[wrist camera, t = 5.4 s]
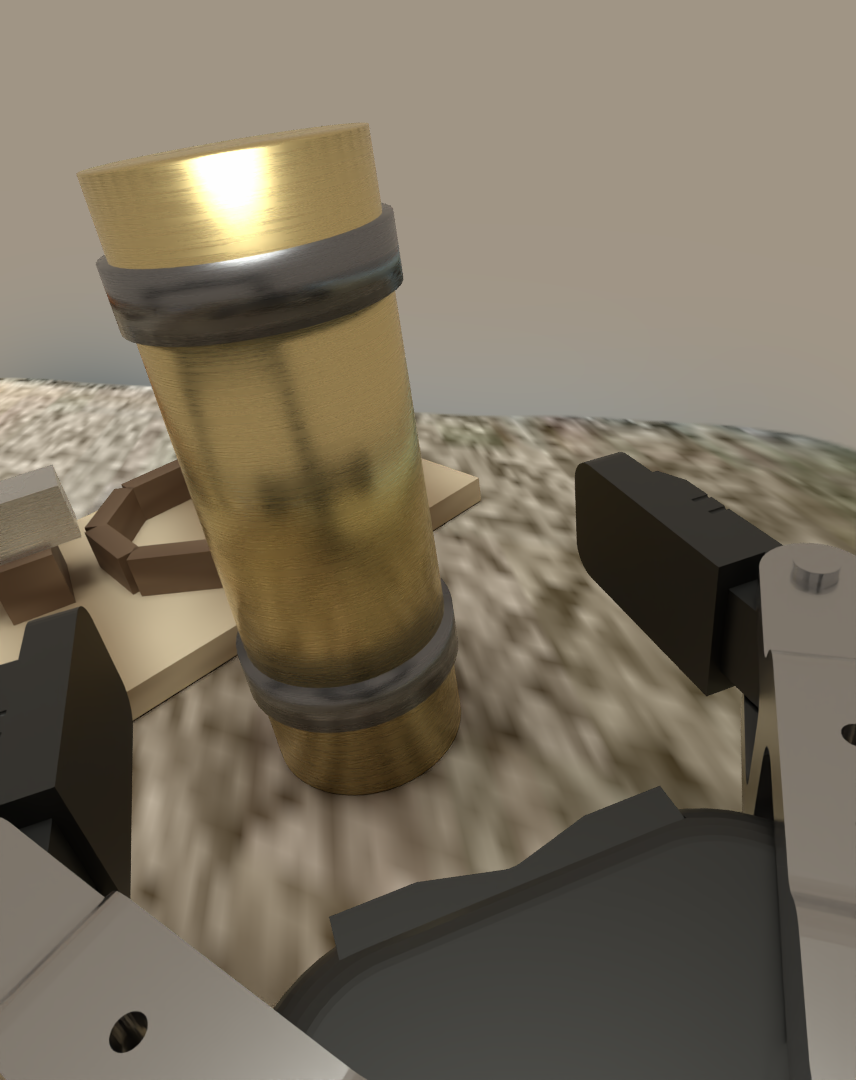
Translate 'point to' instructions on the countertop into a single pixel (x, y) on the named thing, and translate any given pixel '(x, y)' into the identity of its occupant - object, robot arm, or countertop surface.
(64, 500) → the pair of grey blocks
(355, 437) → the cylinder
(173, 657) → the coupling base
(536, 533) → the countertop surface
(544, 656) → the countertop surface
